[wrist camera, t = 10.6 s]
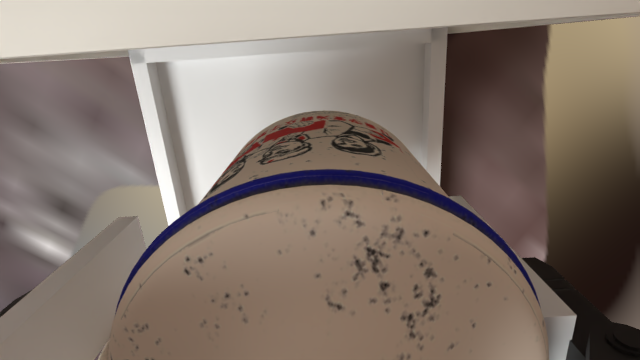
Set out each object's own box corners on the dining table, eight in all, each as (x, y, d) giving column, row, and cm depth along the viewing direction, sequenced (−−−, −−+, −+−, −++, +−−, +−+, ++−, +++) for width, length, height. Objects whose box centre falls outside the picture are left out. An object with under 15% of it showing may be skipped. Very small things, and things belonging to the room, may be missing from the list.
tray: (200, 360, 30) (165, 452, 23) (127, 49, 22) (40, 50, 15) (437, 346, 29) (473, 436, 23) (455, 25, 21) (520, 16, 14)
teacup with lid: (390, 64, 14) (658, 129, 3) (454, 258, 17) (711, 664, 6) (119, 178, 15) (-381, 502, 4) (220, 337, 18) (67, 774, 7)
